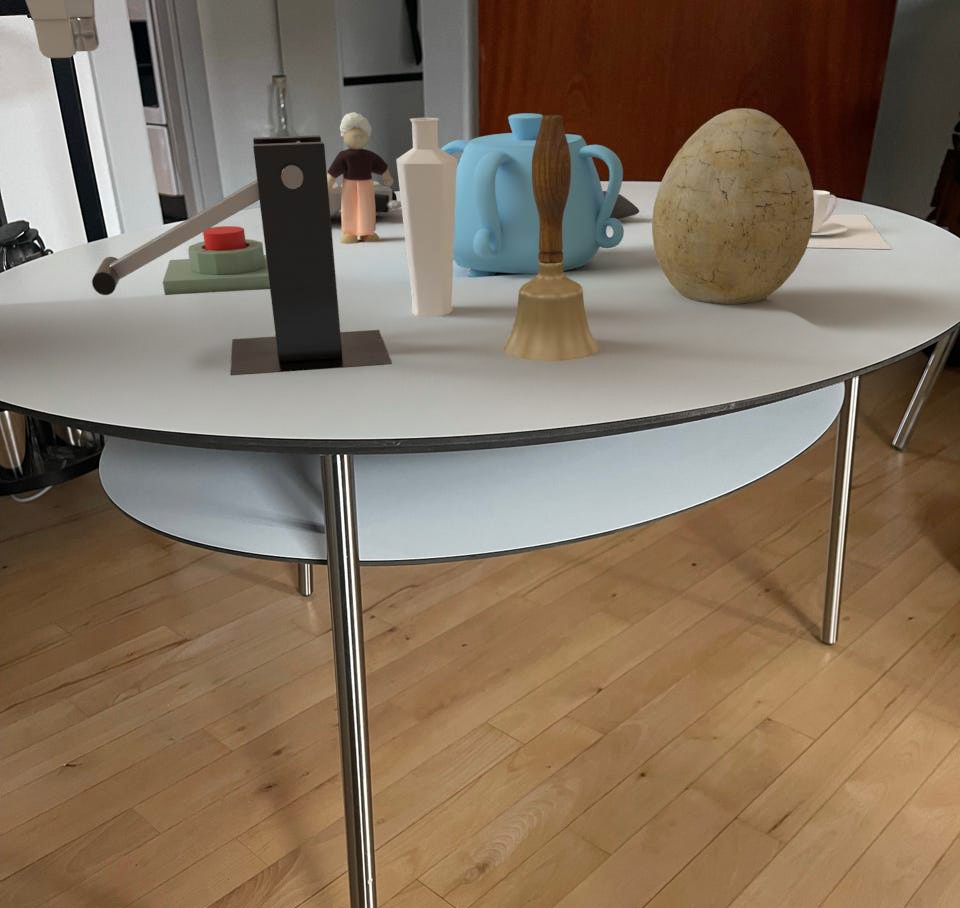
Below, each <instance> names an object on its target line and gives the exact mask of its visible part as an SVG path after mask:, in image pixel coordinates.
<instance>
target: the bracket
mask: <svg viewBox="0 0 960 908" xmlns="http://www.w3.org/2000/svg"><path fill="white" fill-rule="evenodd" d="M297 141H300V143H295V142H297ZM252 142H253V144H252V145H253V156H254V157H253V158H254V165H255V172H256V180H257V183H258V191H259V200H258V201H259V208H260V216H261V223H262V231H263V241H264V251H265V255H266V259H267V267H268V275H269V284H270V289H269V292H270V301H271V307H272V317H273V325H274V333H275V336H262V337H261V336H260V337H245V338H244V337H243V338H233V339H232V340H231V356H230V369H229V370H230V371H229V376H243V375H259V374H272V373H286V372H301V371H315V370H329V369H331V370H332V369H343V368H344V369H345V368H357V367H358V368H359V367H374V366H375V367H376V366H388V365H393V362H392V359H391V356H390V353H389V351H388V349H387V346H386V344H385V341H384V338H383V336H382V334H381V331H380V329H370V330H369V329H368V330H367V329H366V330H354V331H341V324H340V312H339V301H338V300H339V299H338V289H337V276H336V265H335V264H336V263H335V255H334V242H333V229H332V220H331V219H332V218H331V215H330V205H329V193H328V181H327V174H328V169H327V159H326V149H325V143H324V141H322V137H321V135H320V134H314V135H288V136H261V137H260V136H258V137H257V136H256V137H255V136H254V137H253V138H252Z"/></svg>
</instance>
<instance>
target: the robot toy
mask: <svg viewBox="0 0 960 908" xmlns="http://www.w3.org/2000/svg"><path fill="white" fill-rule="evenodd" d="M373 183H374V195H375V209H376V216H377V217H378V216H380V215H381V214H382V213H384V214H387V213H389V211H392V210H398V209H400V208H402V206H401V200H398V198H397V194H396V192H395V191H394V190H393V189H392V188H391V187H390V186H383V185H382V184H381V183H380V181H379V182H378V181H375V180H373ZM341 196H342V183H341V184H339V183H337V182H335V183H334V184H333V189H332V191H331V192H329V205H330V216H336V215H337V214H338V213H340V212H341Z"/></svg>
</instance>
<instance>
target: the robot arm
mask: <svg viewBox="0 0 960 908" xmlns="http://www.w3.org/2000/svg"><path fill="white" fill-rule="evenodd" d="M25 3H26V6H27V8H28V11H29V15H30V17H31V19H32V21H33V25H34V30H35V36H36V39H37V44H38V48H39V49H38V50H39V52H40V53H41V54H42V56H44V57H45V58H48V59H63V58H64V59H67V58H71V57H73V56H75V55H76V54H77V52H93V51H96V50H97V49H98V48H99V47H100V40H99V34H98V28H97V23H96V11H95V0H25Z"/></svg>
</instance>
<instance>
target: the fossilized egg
mask: <svg viewBox="0 0 960 908" xmlns="http://www.w3.org/2000/svg"><path fill="white" fill-rule="evenodd" d="M813 190H814V188H813V184H812V178H811V174H810V170H809V168H808V166H807V164H806V161H805V158H804V156H803V154H802V153H801V151H800V148H799V147H798V146H797V144H796V142H795V140H794V139H793V137H792V136H791V135H790V134H789V132H788V131H787V130H786V129H785V127H784V126H783V125H782V124H780V123H779V122H778V121H777V120H776V119H775V118H774V117H772V116H771V115H769V114H767V113H765V112H762V111H760V110H758V109H754V108H748V107H747V108H746V107H745V108H733V109H729V110H726V111H724V112H721V113H720V114H717V115H715V116H714V117H712V118H710V119H709V120H708V121H706V122H705V123H704V124H702V125H701V126H700V127H699V128H698V129H697V130H696V131H695V132H694V133H693V134H692V135H691V136H690V137H689V138H688V139H687V140H686V141H685V143H684V144H683V145H682V147H681V148H680V149H679V150H678V152H676V154H675V155H674V158H673V160H672V161H671V162H670V164H669V166H668V167H667V168H666V171H665V173H664V175H663V178H662V180H661V182H660V184H659V187H658V190H657V193H656V197H655V200H654V204H653V210H652V218H651V219H652V220H651V232H652V241H653V249H654V251H655V255H656V258H657V261H658V264H659V267H660V269H661V270H662V272H663V274H664V275H665V277H666V279H667V280H668V282H669V284H670V285H671V286H673V288H674V289H675V290H676V291H678V293H680V294H681V295H682V296H683V297H685V298H687V299H690V300H693V301H698V302H703V303H708V304H719V305H720V304H722V305H739V304H750V303H757V302H760V301H762V300H765V299H766V298H768V297H769V296H771V295H772V294H773V293H775V292H776V291H777V290H778V289H779V288H781V287H782V286H783V284H784V283H785V282H786V281H788V280H789V278H790V277H791V276H792V275H793V273H794V272H795V270H797V267H798V266H799V264H800V263H801V261H802V259H803V257H804V255H805V253H806V250H807V248H808V247H807V245H808V242H809V239H810V236H811V232H812V226H813V218H814V194H813Z"/></svg>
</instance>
